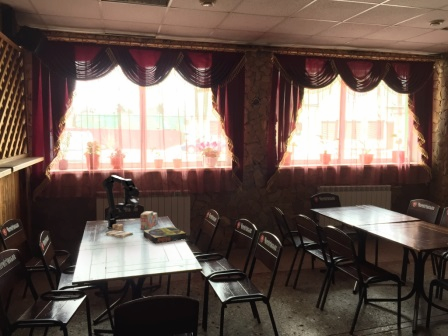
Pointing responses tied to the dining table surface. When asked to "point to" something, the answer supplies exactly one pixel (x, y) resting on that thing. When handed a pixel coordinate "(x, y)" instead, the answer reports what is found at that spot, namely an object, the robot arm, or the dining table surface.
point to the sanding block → (118, 227)
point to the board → (119, 233)
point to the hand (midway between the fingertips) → (128, 214)
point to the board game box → (164, 234)
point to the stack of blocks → (148, 219)
